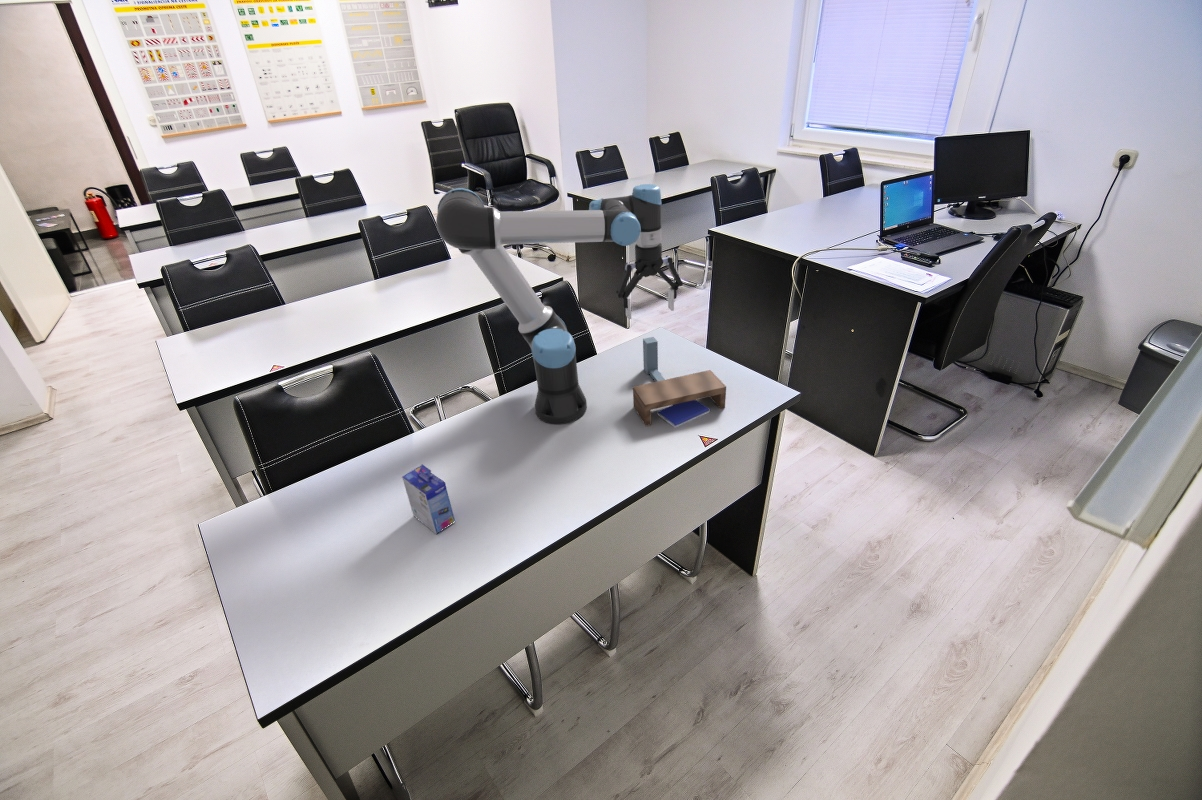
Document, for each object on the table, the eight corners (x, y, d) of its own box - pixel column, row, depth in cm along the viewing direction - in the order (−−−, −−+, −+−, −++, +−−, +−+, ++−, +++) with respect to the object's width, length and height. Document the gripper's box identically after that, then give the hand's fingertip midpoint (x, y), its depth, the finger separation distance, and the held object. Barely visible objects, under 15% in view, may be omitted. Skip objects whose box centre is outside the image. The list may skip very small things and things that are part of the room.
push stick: (665, 398, 166) (665, 366, 160) (643, 369, 181) (642, 338, 175) (676, 396, 167) (677, 364, 161) (653, 367, 182) (653, 336, 176)
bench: (645, 426, 156) (645, 405, 152) (633, 407, 164) (632, 386, 160) (724, 407, 161) (726, 386, 157) (709, 390, 169) (710, 369, 165)
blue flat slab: (691, 396, 165) (657, 411, 160) (709, 408, 159) (675, 424, 154) (690, 400, 166) (657, 415, 160) (709, 413, 160) (675, 429, 155)
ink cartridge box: (457, 521, 129) (443, 473, 122) (437, 536, 126) (422, 487, 118) (433, 503, 135) (418, 456, 127) (413, 516, 132) (396, 468, 124)
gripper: (609, 254, 152) (614, 325, 164) (694, 240, 157) (693, 310, 169) (601, 246, 158) (606, 315, 170) (683, 233, 163) (683, 301, 175)
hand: (649, 313), depth 169 cm, fingers open, 13 cm apart
